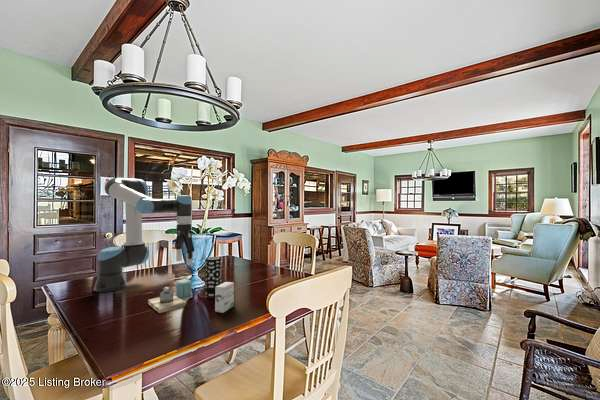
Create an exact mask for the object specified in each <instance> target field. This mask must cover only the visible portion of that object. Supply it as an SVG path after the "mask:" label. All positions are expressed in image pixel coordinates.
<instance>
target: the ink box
mask: <svg viewBox="0 0 600 400" xmlns="http://www.w3.org/2000/svg"><path fill="white" fill-rule="evenodd" d="M234 297H235V283H234V282H231V281H225V282H223V283H222V282H221V284H220V285H218V286H216V287H215V298H214V299H215V300H214V301H215V302H214V311H215V312H216V313H221V314H224V313H225V312H227V311H228V310H230V309H232V308H234V306H235V298H234Z"/></svg>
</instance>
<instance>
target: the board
mask: <svg viewBox="0 0 600 400" xmlns="http://www.w3.org/2000/svg"><path fill="white" fill-rule="evenodd" d="M147 304H148V305H149V306H150V307H151V308H152V309H153V310H154V311H156V312H157V313H158V314H162V313H165V312H169V311H174V310H177V309H180V308H184V307H186V301H185V300H183V299H182V298H181V297H177V296H176V294H174V293H173V301H172V302H169V303H160V296H159V297H154V298H151V299H148V300H147Z"/></svg>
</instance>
